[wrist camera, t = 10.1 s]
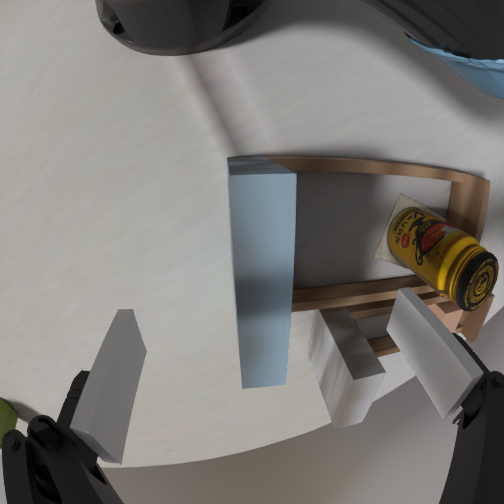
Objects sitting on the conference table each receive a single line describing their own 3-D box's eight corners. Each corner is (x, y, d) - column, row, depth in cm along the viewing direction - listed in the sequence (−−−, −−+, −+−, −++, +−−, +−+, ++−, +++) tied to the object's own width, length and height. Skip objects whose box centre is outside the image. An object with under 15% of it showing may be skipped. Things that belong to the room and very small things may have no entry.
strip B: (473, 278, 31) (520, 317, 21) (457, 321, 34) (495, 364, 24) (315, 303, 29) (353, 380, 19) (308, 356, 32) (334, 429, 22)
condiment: (399, 193, 25) (484, 234, 14) (445, 218, 27) (518, 261, 16) (372, 256, 27) (439, 323, 16) (421, 272, 29) (483, 329, 18)
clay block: (429, 297, 31) (445, 313, 27) (447, 293, 31) (464, 308, 28) (420, 321, 33) (435, 338, 29) (439, 316, 33) (454, 332, 29)
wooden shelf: (459, 170, 24) (531, 196, 14) (438, 278, 30) (491, 326, 20) (227, 157, 22) (229, 175, 12) (234, 302, 28) (242, 388, 18)
